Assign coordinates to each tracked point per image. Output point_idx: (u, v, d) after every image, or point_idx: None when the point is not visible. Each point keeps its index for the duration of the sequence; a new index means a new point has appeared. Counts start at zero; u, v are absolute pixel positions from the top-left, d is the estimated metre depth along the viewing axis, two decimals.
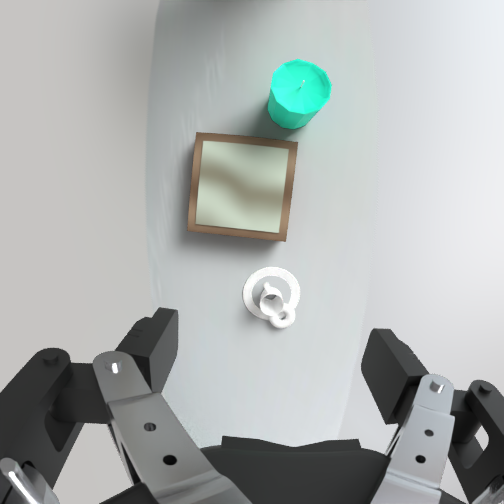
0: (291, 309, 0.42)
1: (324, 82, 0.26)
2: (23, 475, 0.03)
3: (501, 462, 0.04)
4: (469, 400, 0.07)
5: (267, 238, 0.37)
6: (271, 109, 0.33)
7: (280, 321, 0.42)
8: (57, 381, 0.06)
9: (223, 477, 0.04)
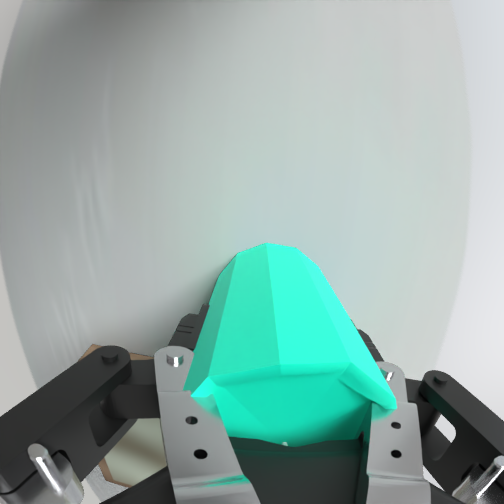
0: None
1: None
2: (50, 463, 0.04)
3: (474, 451, 0.05)
4: (425, 393, 0.07)
5: None
6: None
7: None
8: (111, 380, 0.07)
9: (223, 477, 0.04)
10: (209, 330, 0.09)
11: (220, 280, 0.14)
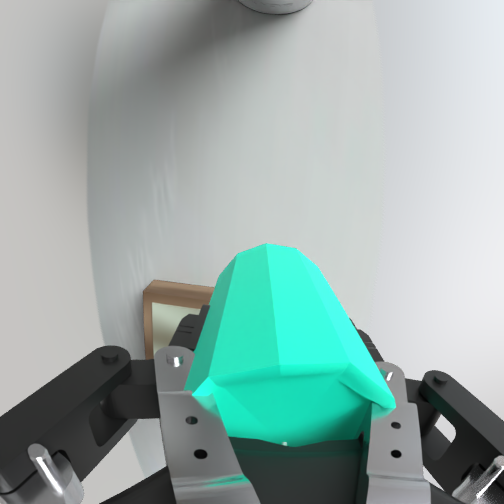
0: None
1: None
2: (50, 463, 0.04)
3: (474, 451, 0.05)
4: (425, 393, 0.07)
5: None
6: None
7: None
8: (111, 380, 0.07)
9: (223, 477, 0.04)
10: (209, 330, 0.09)
11: (220, 280, 0.14)
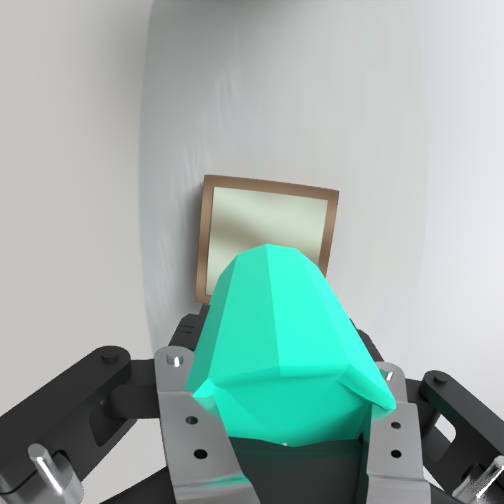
0: None
1: None
2: (50, 463, 0.04)
3: (475, 451, 0.05)
4: (425, 393, 0.07)
5: None
6: None
7: None
8: (111, 380, 0.07)
9: (223, 477, 0.04)
10: (209, 331, 0.09)
11: (220, 281, 0.14)
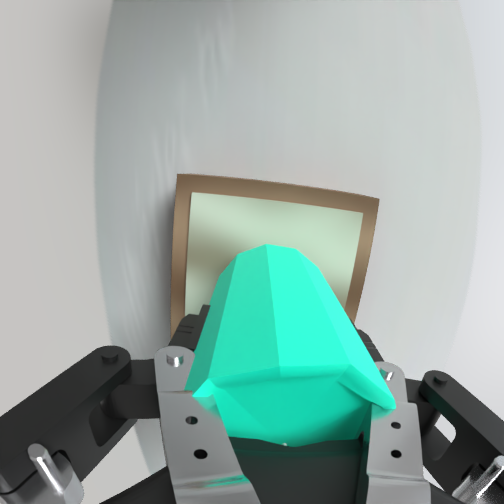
0: None
1: None
2: (50, 463, 0.04)
3: (474, 451, 0.05)
4: (425, 393, 0.07)
5: None
6: None
7: None
8: (111, 380, 0.07)
9: (223, 477, 0.04)
10: (209, 331, 0.09)
11: (220, 281, 0.14)
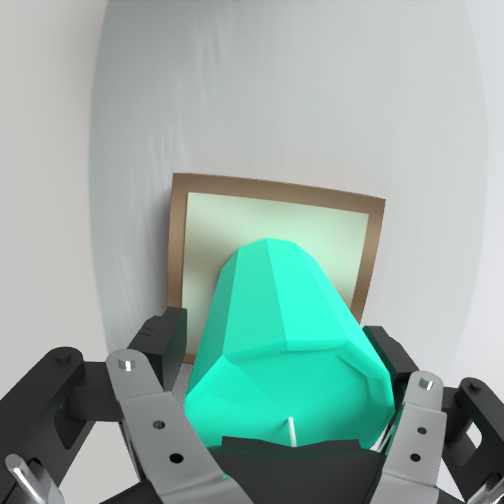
0: None
1: (374, 399, 0.07)
2: (29, 472, 0.03)
3: (496, 459, 0.04)
4: (460, 398, 0.07)
5: None
6: None
7: None
8: (69, 380, 0.06)
9: (223, 477, 0.04)
10: (218, 317, 0.10)
11: (223, 273, 0.15)
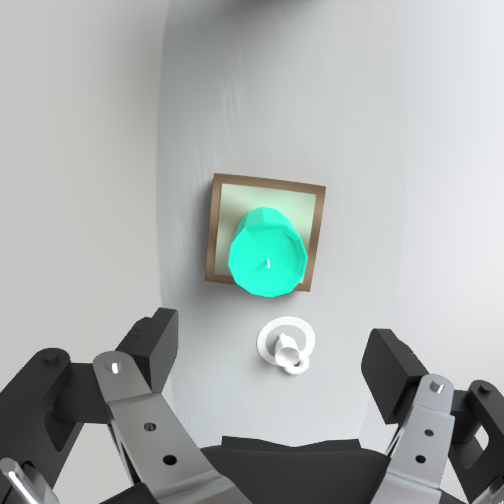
0: (305, 357, 0.40)
1: (299, 252, 0.23)
2: (23, 475, 0.03)
3: (501, 462, 0.04)
4: (469, 400, 0.07)
5: None
6: None
7: (293, 368, 0.40)
8: (57, 381, 0.06)
9: (223, 477, 0.04)
10: (240, 227, 0.26)
11: (240, 222, 0.31)
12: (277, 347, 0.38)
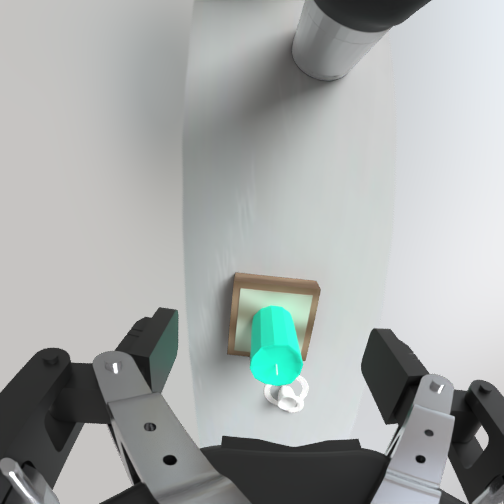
0: (301, 400, 0.50)
1: (297, 360, 0.33)
2: (23, 475, 0.03)
3: (501, 462, 0.04)
4: (469, 400, 0.07)
5: None
6: None
7: (292, 408, 0.50)
8: (57, 382, 0.06)
9: (223, 477, 0.04)
10: (257, 338, 0.35)
11: (255, 320, 0.41)
12: (279, 396, 0.48)
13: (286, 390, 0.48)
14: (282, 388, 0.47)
